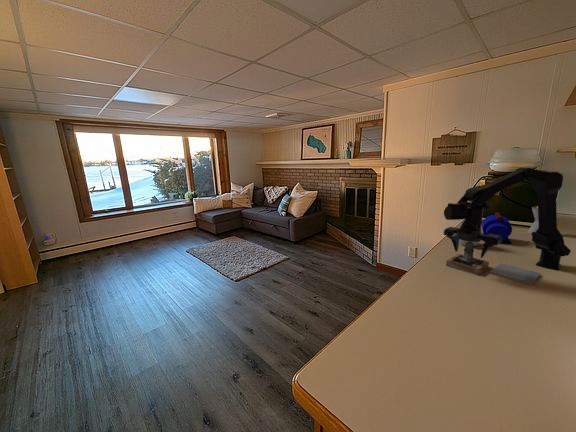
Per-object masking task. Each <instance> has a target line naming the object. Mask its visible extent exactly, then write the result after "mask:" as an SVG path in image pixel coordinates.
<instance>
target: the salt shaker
mask: <svg viewBox="0 0 576 432" xmlns="http://www.w3.org/2000/svg"><path fill="white" fill-rule="evenodd" d="M474 249H475V246H474V244H473V243H472V242H471V241H469V242H467V243H466V244H465V246H464V249H463V251H464V252H463V254H462V255H463V256H461V257H459V258H460V260H459V262H460V263H461V264H465V265H468V266H472V267H475V265H474V264H475V262H476V261H477V260H476V259H477V258H476V257H474V252H475V250H474ZM475 258H476V259H475Z"/></svg>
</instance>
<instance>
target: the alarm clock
mask: <svg viewBox="0 0 576 432" xmlns="http://www.w3.org/2000/svg"><path fill="white" fill-rule="evenodd" d="M482 220H483V221H484V222H483V223H482V224H481V231H482V232H481V235H485V236H487V235H488V234H494V235H500V236H501V237H502V242H506V243H508V244H510V245H512V242H511V240H510V239H509V237H510V236H511V234H512V232H513V227H512V225H511V223H510V220H509V219H508V218H507V217H505V216H504V215H501V213H500V212H498V211H496V212H495V213H494V214H492V215H488V216H486V217H485V218H484V219H482ZM481 242H484V240H481Z"/></svg>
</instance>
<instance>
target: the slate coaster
mask: <svg viewBox="0 0 576 432" xmlns="http://www.w3.org/2000/svg"><path fill="white" fill-rule="evenodd" d="M489 274H492V275H496V276H499V277H503V278H506V279H509V280H512V281H513V280H514V281H516V282H520V283H523V284H527V285H530V286H532V285H533V284H534V283H535V282H536V280H537V279H539V277H540V276H541V272H537V271H533V270H531V269H530V270H529V269H526V268H522V267H517V266H514V265H511V264H505V263H502V262H501V263H499V264H498V265H496V266H495V267H493V268H492V269H491V270H490V272H489Z"/></svg>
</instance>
